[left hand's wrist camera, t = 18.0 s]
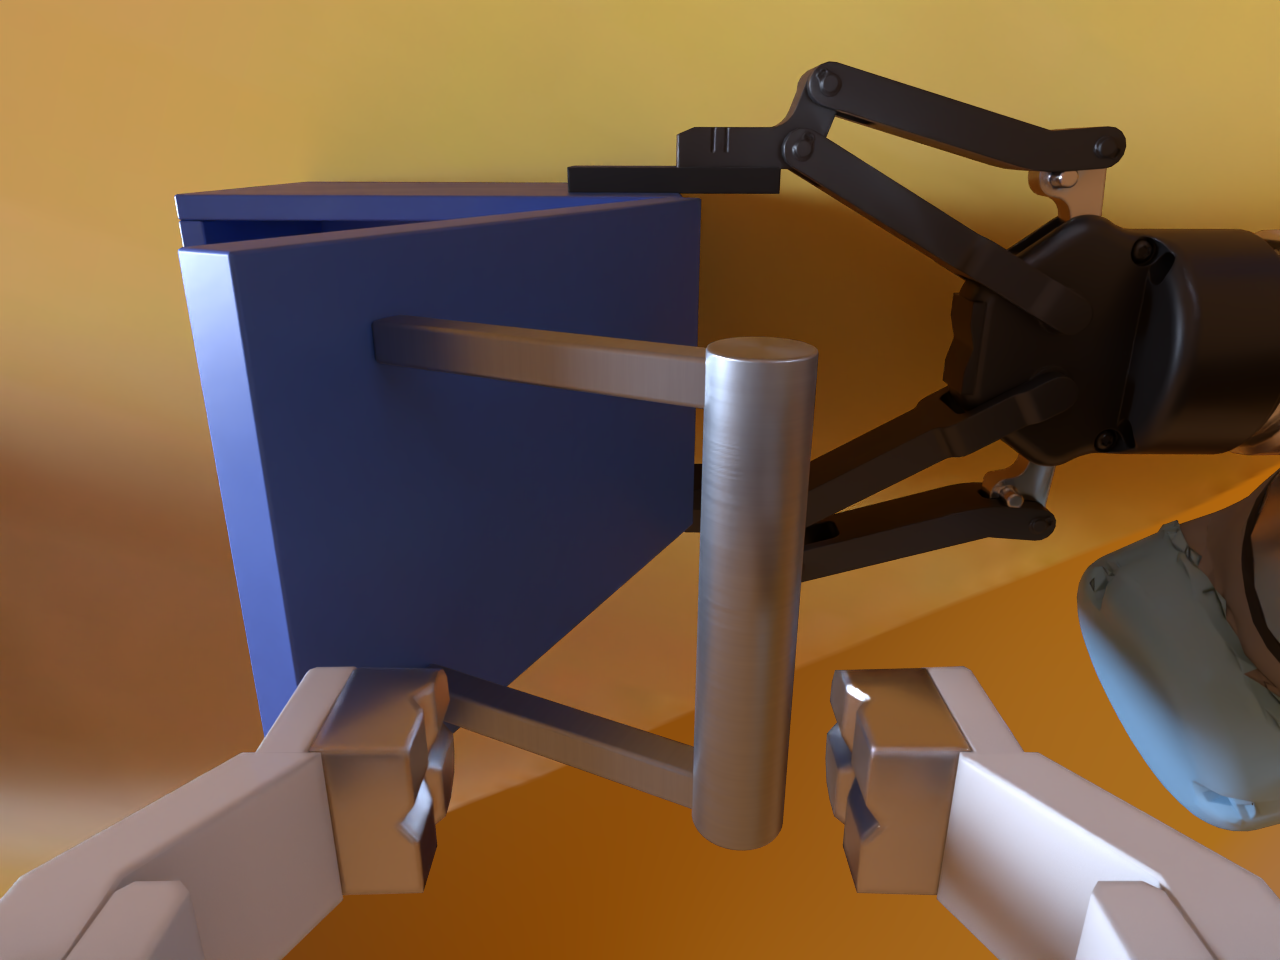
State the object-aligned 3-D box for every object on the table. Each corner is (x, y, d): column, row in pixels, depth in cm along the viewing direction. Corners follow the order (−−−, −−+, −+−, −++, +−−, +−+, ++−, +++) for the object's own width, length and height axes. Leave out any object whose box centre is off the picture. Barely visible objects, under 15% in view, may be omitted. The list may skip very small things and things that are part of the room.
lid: (278, 827, 15) (711, 1028, 12) (174, 247, 12) (743, 291, 8) (662, 518, 28) (923, 571, 25) (666, 196, 25) (971, 205, 21)
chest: (334, 419, 38) (228, 511, 29) (304, 181, 35) (172, 194, 25) (670, 421, 38) (677, 514, 28) (673, 182, 35) (683, 196, 25)
